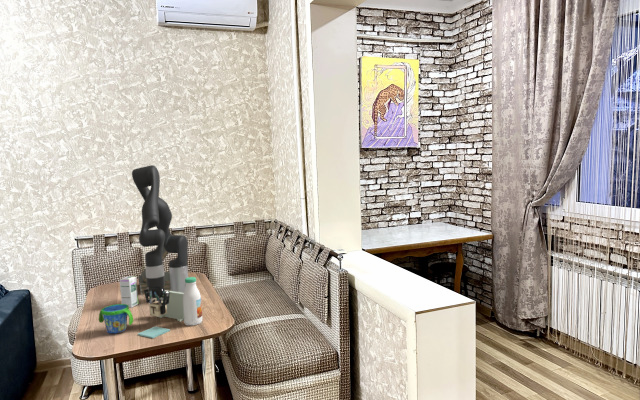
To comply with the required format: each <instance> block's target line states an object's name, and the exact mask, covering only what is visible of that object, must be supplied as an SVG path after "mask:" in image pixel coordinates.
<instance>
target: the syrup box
mask: <svg viewBox="0 0 640 400" xmlns="http://www.w3.org/2000/svg"><path fill="white" fill-rule="evenodd" d="M137 281H138V279H137V276H135V275H129V276H128V275H127V276H125V277H121V278H119V289H120V290H119V291H120V299H121V301H120V302H121V304H126V305H128V306H129V309H130V308H133V307H135V306H138V305H139V304H140V303H139V293H138V292H139V291H138V282H137Z"/></svg>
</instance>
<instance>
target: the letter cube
mask: <svg viewBox="0 0 640 400" xmlns="http://www.w3.org/2000/svg"><path fill="white" fill-rule="evenodd" d="M161 302H162V303H163V301H161ZM148 306H149V316H153V317H156V318H157V317H158V318H160V317H159V316H161V315H162V314H160V304H159V302H158V301H157V300H156V302H153V303H151V304H149V303H148ZM165 308H166V312H165V314H166V313H167V305H165ZM163 315H164V314H163Z"/></svg>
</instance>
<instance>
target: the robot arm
mask: <svg viewBox="0 0 640 400" xmlns="http://www.w3.org/2000/svg"><path fill="white" fill-rule="evenodd" d="M131 177H132V180H133V184H135V186H136V189H137V191H138V192H139V193H140V196H141V197H142V199H143V203H142V206H141V221H142V222H141V228H140V233H139V235H138V242H139V244H140V246H142V247H145V248H146V247H156V248H155V249H152V250H150V251H148V252H146V253H145V255H144V259H145V260H144V261H145V268H146V281H147V287H149V288H148V289H145V290H144V298H145V301H146V303H147V304H148V305H149V304H151V303H153V302H156V301H158V302H159V304H160V314H162V315H163V314H165V312H166V308H165V305H167V304H169V297H170V291H165V289H164V285H165V275H164V272H165V267H164V260H163V258H162V251H163V246H164V249H165V250H166V251H167V252H168V254H177V256H176V258H172V259H171V260H169V262H168V272H169V275H170V289H171V291H174V292H181V293H184V291H185V288H186V284H185V279H186V278H188V277H189V269H188V268H189V267H188V261H189V253H188V252H189V248H188V247H189V245H188V238H187V236H185V235H183V234H172V233H171V230H170V225H171V223H172V218H173V214H172V212H171V208H170V206H169V204H168V203H167V202H166V201H165V200H164V199H163V198H161V197H160V187H161V186H160V185H161V184H160V180H161V177H160V173H159V170H158V168H157V166H155V165H154V164H153V165H146V166H142V167H141V166H140V167H138V168H134V169H132V172H131ZM149 187H150V188H149ZM153 228H155V229H153ZM160 298H162V299H160ZM161 300H162V301H163V303H162V302H161Z"/></svg>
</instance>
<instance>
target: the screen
mask: <svg viewBox="0 0 640 400" xmlns="http://www.w3.org/2000/svg"><path fill="white" fill-rule="evenodd" d="M165 291H167V290H165ZM183 294H184V293H181V292H174V291H170V297H169V304H167V313H166V314H164V315H161V316H159V317H158V318H170V319H176V321H177V322H182V321H183V322H184V313H183ZM160 299H162V298H160ZM161 301H162V300H161Z"/></svg>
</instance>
